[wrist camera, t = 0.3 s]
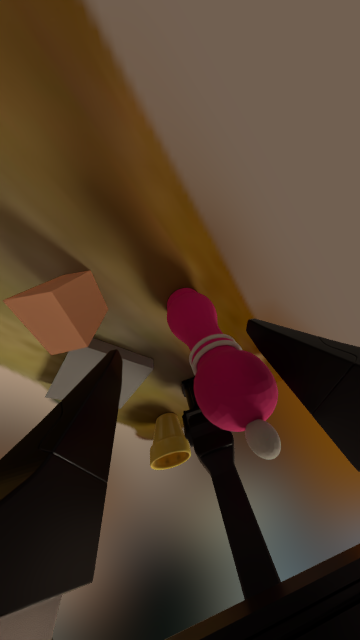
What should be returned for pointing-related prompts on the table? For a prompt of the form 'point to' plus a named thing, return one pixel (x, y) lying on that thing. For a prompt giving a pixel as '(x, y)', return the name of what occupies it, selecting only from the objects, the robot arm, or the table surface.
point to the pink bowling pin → (225, 373)
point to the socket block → (88, 358)
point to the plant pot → (168, 443)
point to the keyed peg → (61, 311)
